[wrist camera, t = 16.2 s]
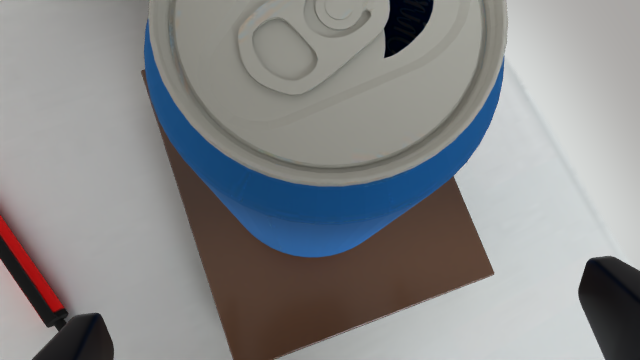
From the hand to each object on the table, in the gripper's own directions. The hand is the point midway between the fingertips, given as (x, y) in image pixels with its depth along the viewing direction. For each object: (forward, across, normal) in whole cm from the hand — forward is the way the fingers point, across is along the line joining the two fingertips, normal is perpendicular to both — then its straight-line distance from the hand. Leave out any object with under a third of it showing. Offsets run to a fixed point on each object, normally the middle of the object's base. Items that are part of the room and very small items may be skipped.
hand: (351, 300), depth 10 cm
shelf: (+12, 0, +6) cm, 13 cm away
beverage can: (+10, 0, +4) cm, 11 cm away
